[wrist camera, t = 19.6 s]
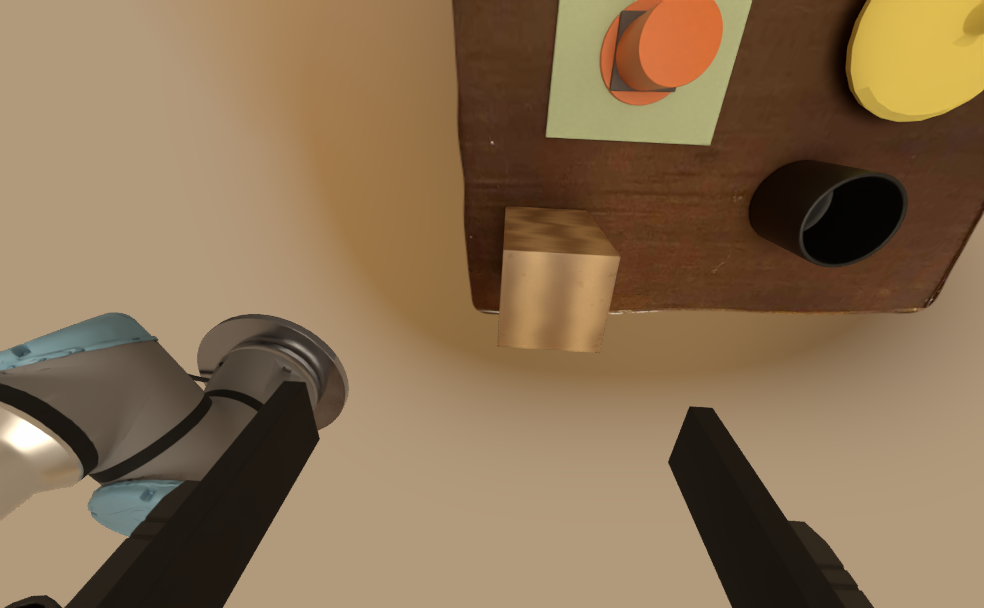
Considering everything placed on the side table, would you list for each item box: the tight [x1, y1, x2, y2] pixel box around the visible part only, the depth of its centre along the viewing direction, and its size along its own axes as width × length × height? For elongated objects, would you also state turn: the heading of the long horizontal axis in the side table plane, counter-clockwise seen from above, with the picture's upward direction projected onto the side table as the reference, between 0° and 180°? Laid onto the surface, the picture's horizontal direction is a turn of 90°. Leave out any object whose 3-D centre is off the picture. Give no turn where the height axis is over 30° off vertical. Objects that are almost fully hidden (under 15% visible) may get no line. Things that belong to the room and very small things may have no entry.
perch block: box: [498, 206, 620, 353], centre depth 41 cm, size 10×10×16 cm
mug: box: [750, 160, 908, 267], centre depth 40 cm, size 9×12×9 cm
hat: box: [600, 0, 723, 105], centre depth 33 cm, size 9×9×9 cm
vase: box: [846, 0, 984, 122], centre depth 33 cm, size 16×16×7 cm
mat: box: [545, 0, 752, 145], centre depth 38 cm, size 18×16×1 cm
